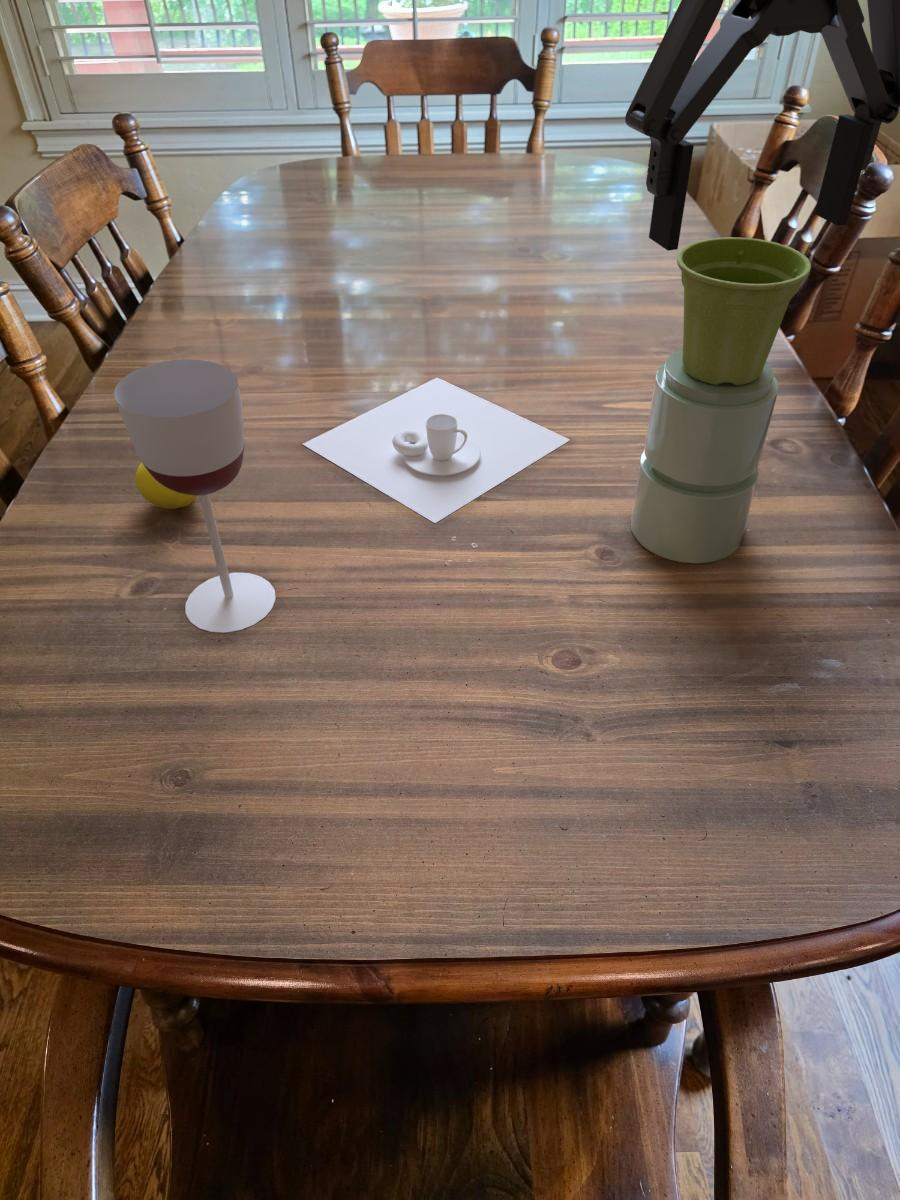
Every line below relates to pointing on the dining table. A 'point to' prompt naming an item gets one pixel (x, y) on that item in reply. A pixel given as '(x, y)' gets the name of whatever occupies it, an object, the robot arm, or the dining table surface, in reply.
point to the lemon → (160, 491)
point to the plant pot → (735, 304)
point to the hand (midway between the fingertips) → (748, 231)
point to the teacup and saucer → (436, 447)
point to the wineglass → (196, 467)
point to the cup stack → (700, 463)
